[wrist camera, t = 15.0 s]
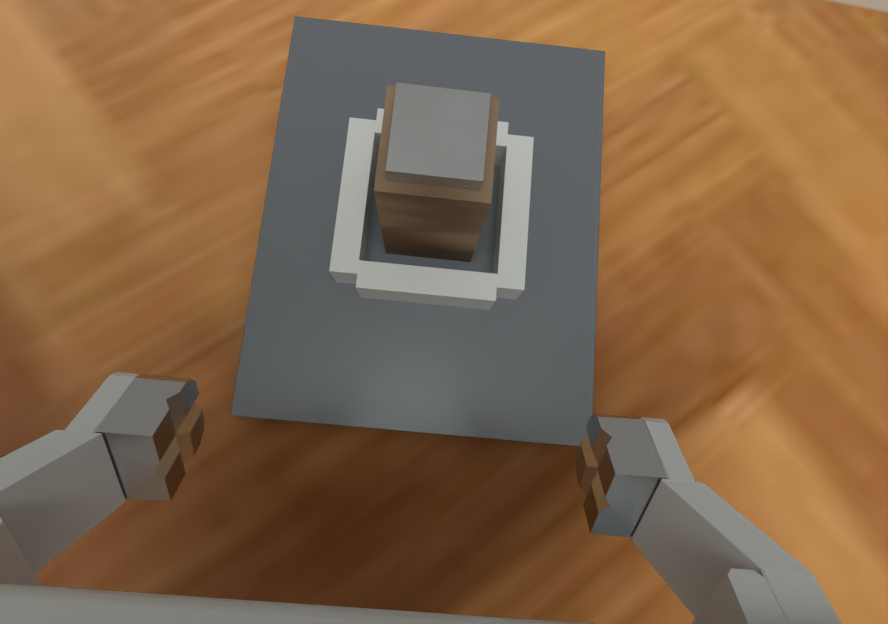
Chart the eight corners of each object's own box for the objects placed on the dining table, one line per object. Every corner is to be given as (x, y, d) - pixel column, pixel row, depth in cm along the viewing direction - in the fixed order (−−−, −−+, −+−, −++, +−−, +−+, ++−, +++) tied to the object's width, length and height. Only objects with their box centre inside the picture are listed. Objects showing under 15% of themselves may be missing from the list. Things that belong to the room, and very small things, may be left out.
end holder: (236, 415, 24) (213, 415, 22) (298, 27, 28) (285, -15, 25) (585, 446, 25) (607, 450, 22) (599, 61, 29) (619, 23, 26)
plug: (385, 253, 25) (371, 180, 17) (395, 174, 26) (385, 70, 18) (470, 262, 25) (494, 194, 18) (477, 183, 26) (503, 84, 18)
